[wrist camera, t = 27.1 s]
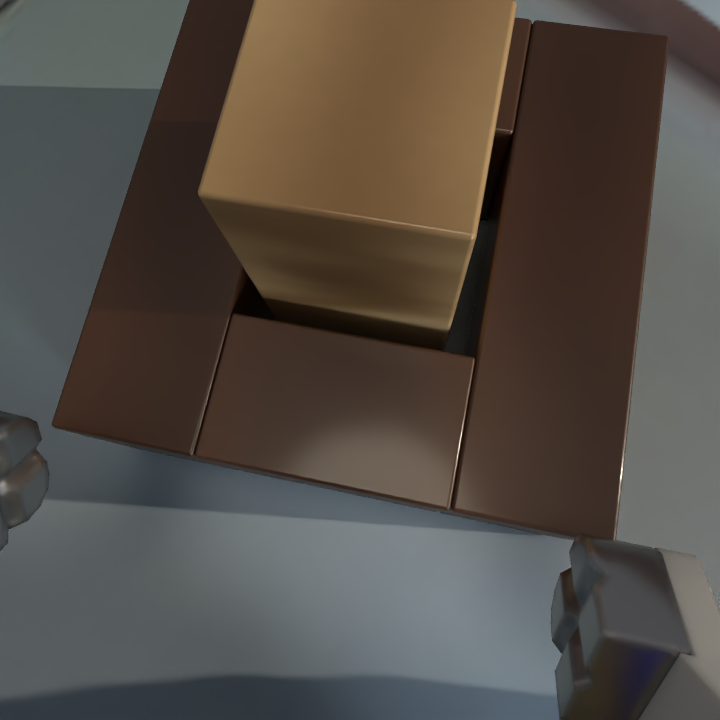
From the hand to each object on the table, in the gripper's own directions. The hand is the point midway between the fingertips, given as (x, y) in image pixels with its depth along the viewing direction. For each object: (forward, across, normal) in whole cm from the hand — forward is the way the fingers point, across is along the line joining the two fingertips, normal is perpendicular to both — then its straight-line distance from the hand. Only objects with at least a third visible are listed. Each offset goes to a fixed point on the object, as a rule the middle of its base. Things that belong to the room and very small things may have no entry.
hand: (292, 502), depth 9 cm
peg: (+9, 0, 0) cm, 9 cm away
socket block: (+9, 0, 0) cm, 9 cm away
